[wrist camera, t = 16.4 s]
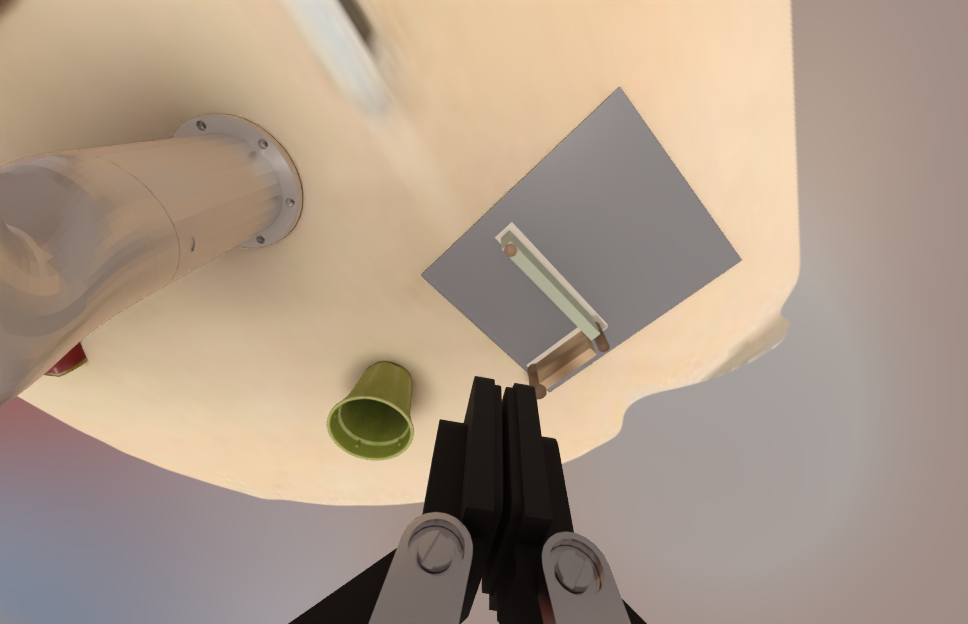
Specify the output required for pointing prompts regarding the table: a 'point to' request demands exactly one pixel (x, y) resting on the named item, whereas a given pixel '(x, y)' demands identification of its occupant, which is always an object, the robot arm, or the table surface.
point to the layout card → (587, 241)
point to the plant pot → (375, 415)
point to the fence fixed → (564, 361)
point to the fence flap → (548, 284)
